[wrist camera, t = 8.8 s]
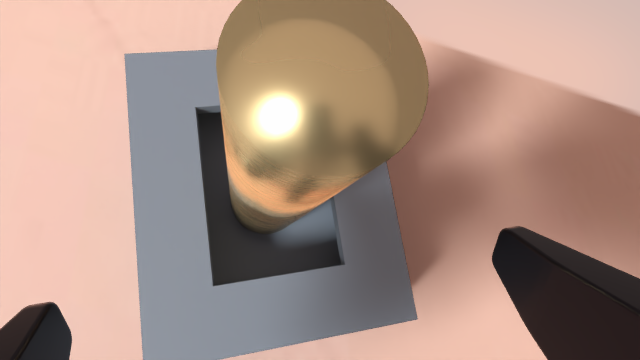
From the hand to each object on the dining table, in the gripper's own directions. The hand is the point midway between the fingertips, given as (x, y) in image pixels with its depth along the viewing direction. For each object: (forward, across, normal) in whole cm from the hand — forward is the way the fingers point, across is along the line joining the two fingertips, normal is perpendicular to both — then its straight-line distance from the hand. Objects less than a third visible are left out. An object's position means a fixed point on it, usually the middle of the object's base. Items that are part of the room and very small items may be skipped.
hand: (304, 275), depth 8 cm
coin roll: (+10, 0, +5) cm, 11 cm away
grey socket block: (+10, 0, +5) cm, 11 cm away
